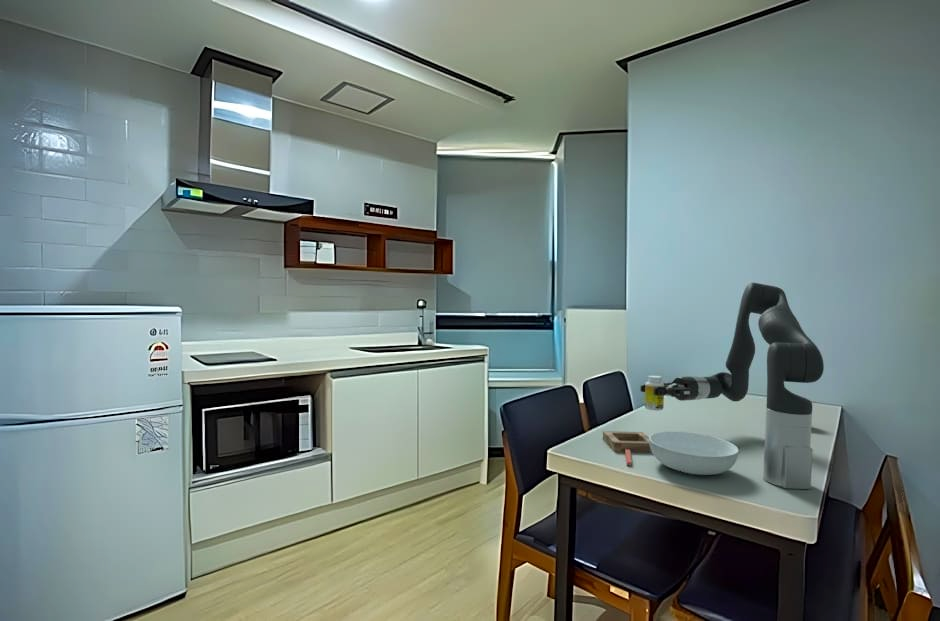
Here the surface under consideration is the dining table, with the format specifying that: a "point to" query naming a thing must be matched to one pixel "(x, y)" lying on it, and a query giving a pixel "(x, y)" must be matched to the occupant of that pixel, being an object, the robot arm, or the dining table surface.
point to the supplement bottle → (650, 399)
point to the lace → (628, 457)
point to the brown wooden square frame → (627, 441)
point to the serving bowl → (693, 452)
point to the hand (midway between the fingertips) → (648, 390)
